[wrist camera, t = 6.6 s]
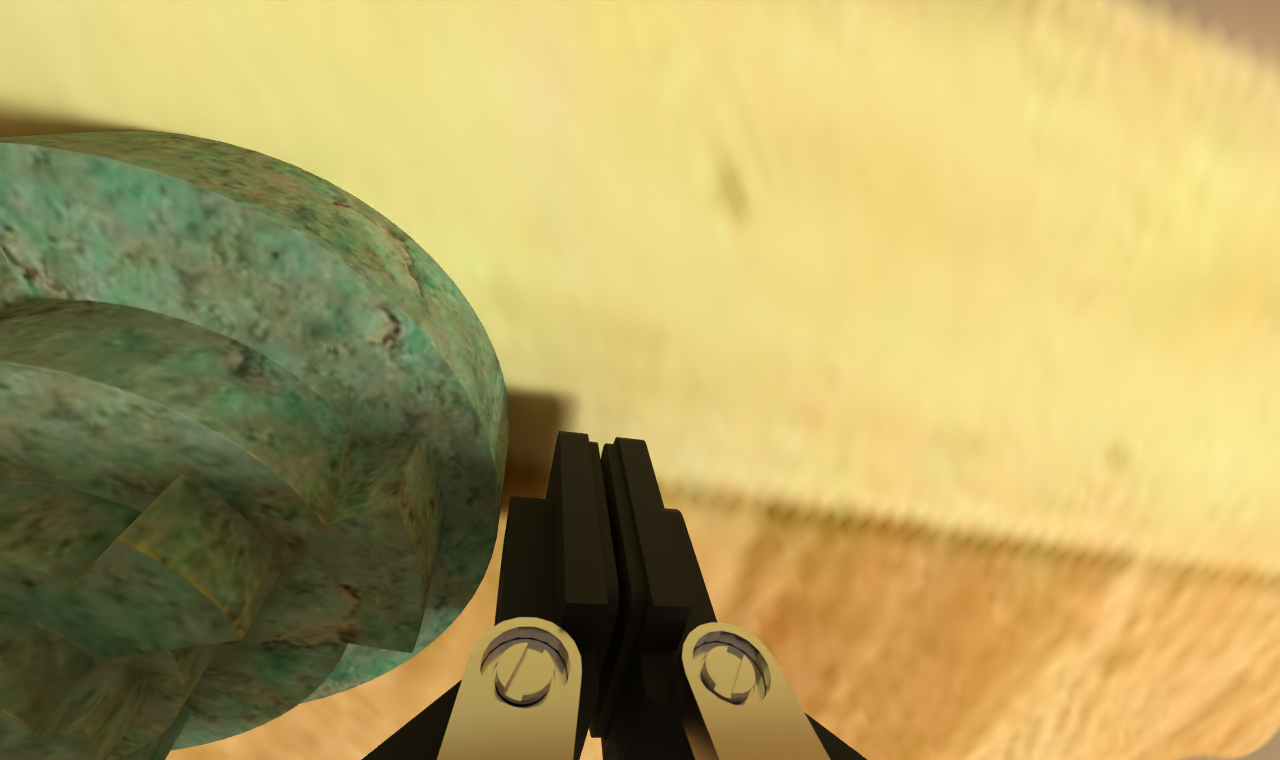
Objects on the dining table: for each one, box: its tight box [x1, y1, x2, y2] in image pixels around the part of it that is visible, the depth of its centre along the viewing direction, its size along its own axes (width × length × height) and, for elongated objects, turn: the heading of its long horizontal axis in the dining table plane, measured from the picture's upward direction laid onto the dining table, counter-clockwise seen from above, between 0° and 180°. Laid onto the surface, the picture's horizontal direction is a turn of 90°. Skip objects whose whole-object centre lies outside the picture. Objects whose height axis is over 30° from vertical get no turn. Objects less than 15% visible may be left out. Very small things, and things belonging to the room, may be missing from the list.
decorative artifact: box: [0, 131, 509, 760], centre depth 7 cm, size 10×7×10 cm
